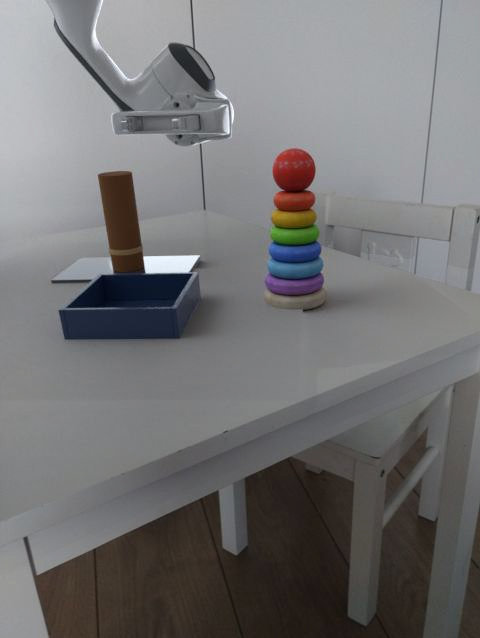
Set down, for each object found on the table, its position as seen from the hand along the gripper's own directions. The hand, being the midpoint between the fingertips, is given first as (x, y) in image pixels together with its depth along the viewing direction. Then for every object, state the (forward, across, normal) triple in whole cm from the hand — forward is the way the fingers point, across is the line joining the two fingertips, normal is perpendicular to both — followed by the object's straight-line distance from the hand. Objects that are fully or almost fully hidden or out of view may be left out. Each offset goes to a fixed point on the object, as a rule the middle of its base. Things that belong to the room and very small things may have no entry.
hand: (149, 124), depth 89 cm
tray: (+29, +11, +21) cm, 38 cm away
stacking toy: (+19, +28, +21) cm, 40 cm away
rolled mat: (+12, 0, +20) cm, 23 cm away
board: (+11, 0, +21) cm, 24 cm away
